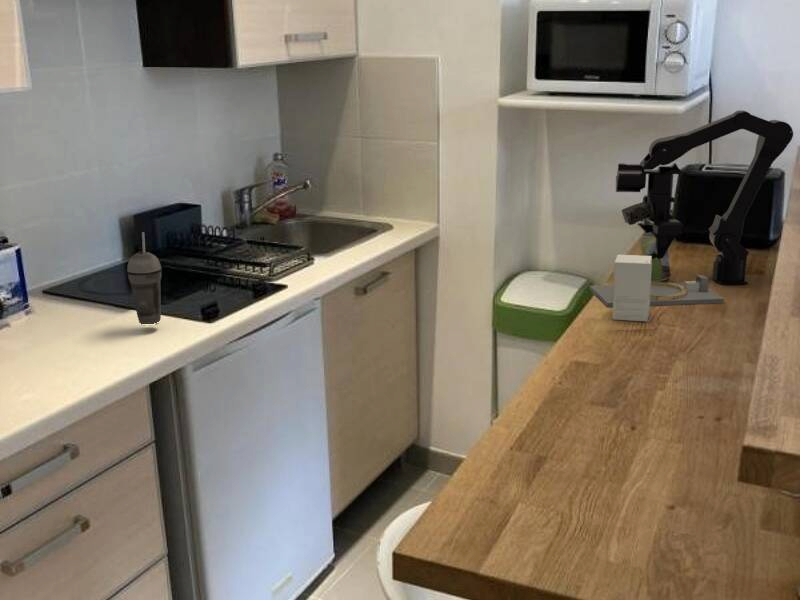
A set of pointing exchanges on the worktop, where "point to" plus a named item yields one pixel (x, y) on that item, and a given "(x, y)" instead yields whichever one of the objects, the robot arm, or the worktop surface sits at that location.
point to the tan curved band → (682, 288)
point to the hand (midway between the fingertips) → (655, 256)
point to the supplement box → (632, 287)
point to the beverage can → (655, 258)
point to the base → (691, 298)
